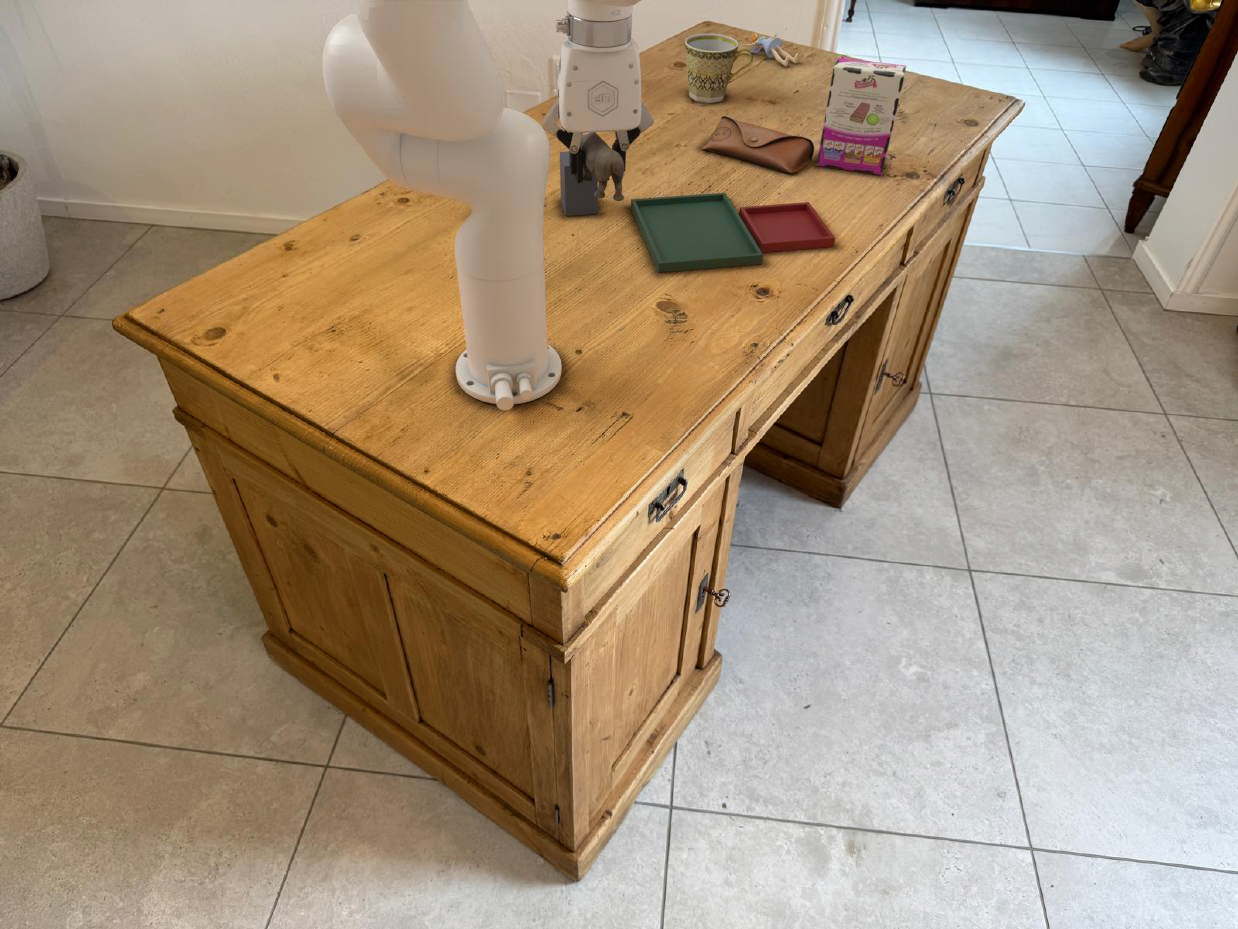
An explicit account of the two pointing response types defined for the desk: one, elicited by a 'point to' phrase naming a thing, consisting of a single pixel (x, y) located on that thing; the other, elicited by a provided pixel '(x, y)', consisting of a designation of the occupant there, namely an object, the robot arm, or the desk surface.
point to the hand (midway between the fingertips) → (597, 176)
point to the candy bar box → (860, 115)
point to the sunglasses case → (760, 145)
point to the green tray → (694, 232)
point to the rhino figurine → (602, 164)
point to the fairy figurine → (771, 48)
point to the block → (576, 191)
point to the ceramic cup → (711, 65)
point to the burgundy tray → (786, 227)
